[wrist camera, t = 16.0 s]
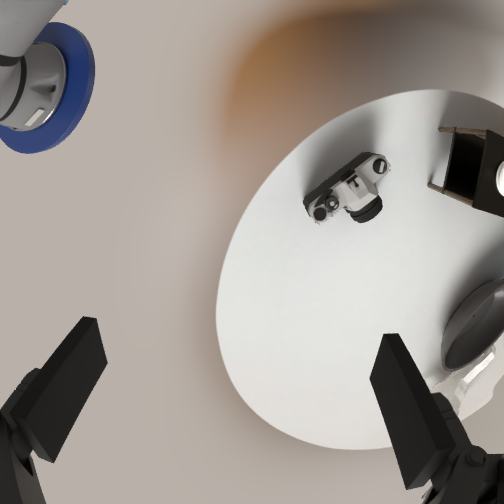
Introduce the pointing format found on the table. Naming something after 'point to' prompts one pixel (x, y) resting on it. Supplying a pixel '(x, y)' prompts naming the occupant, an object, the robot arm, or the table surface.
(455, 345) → the bowl
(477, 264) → the table surface
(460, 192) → the rack
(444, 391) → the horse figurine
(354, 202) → the camera
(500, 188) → the chess piece
